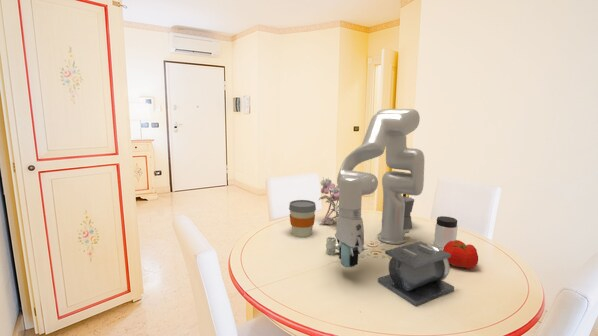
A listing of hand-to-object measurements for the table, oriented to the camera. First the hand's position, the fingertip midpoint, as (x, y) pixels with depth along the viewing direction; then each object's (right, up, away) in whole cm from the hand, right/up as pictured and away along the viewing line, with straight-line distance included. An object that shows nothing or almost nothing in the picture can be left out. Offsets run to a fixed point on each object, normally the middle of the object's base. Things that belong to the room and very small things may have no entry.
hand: (348, 261), depth 113 cm
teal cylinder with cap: (0, -1, 0) cm, 1 cm away
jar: (+47, -2, +30) cm, 56 cm away
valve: (0, -3, +19) cm, 19 cm away
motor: (+21, -7, -5) cm, 23 cm away
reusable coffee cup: (-16, +1, +41) cm, 44 cm away
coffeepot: (+36, +2, +53) cm, 64 cm away
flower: (+5, +3, +55) cm, 55 cm away
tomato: (+44, -5, +11) cm, 46 cm away
